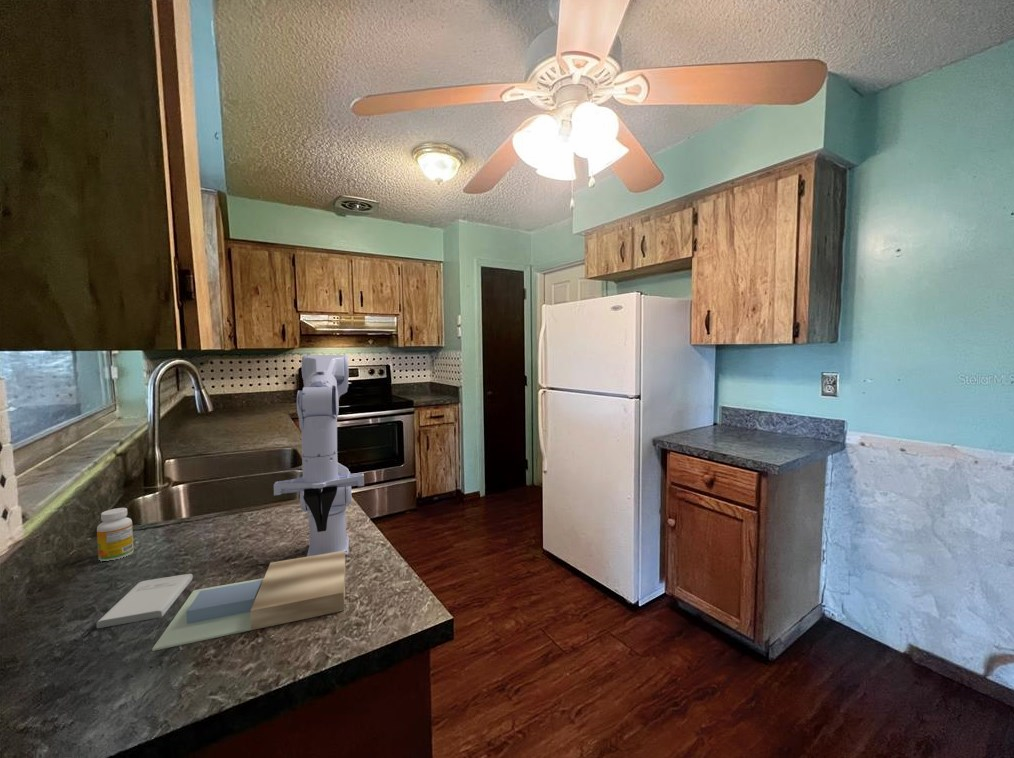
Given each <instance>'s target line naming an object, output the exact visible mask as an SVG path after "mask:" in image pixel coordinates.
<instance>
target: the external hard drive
mask: <svg viewBox="0 0 1014 758" xmlns="http://www.w3.org/2000/svg"><path fill="white" fill-rule="evenodd" d="M192 580H193V574H192V573H185V574H179V575H173V576H167V577H158V578H153V579H145V580H141V581H140V582H138V583H137V584H135V585H134V587H132V588H131V590H129V591H128V592H127V593H126V594H125V595H124V596H123V597H122V598H121V599H119V601H118V602H117V603H116V604H114V605H113V606H112V607H111V608H110V609H109V610H108V611H107V612H106V613H104V615H103V616H102V617H100V619H99V620H98V621H96V629H102V628H107V627H114V626H119V625H124V624H129V623H136V622H140V621H141V622H142V621H147V620H151V619H152V620H153V619H157V618H162V617H163V616H164V615H165V614H166V612H168V610H169V609H170V607H171V606H172V605H173V604H174V603H175V601H176V600H177V599H178V598H179V597H180V595H181V594H182V593H183V592H184V590H185V589H186V588H187V586H189V584H190V583H191V581H192Z"/></svg>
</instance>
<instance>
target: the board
mask: <svg viewBox="0 0 1014 758" xmlns="http://www.w3.org/2000/svg"><path fill="white" fill-rule="evenodd" d="M346 563H347V561H346V556H345V551H339V552H333V553H327V554H321V555H314V556H308V557H307V556H303V557H302V556H301V557H296V558H292V559H291V558H290V559H284V560H278V561H272V562H269V565H268V568H267V570H266V573H265V575H264V577H263V578H264V579H263V582H262V584H261V587H260V589H259V591H258V594H257V596H256V599H255V601H254V603H253V606H252V608H251V630H250V631H254V630H258V629H262V628H269V627H272V626H277V625H282V624H288V623H290V622H292V623H293V622H296V621H300V620H306V619H310V618H311V619H312V618H315V617H319V616H325V615H329V614H334V613H339V612H342V611H345V595H346V570H347V569H346V566H347V565H346Z"/></svg>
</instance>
